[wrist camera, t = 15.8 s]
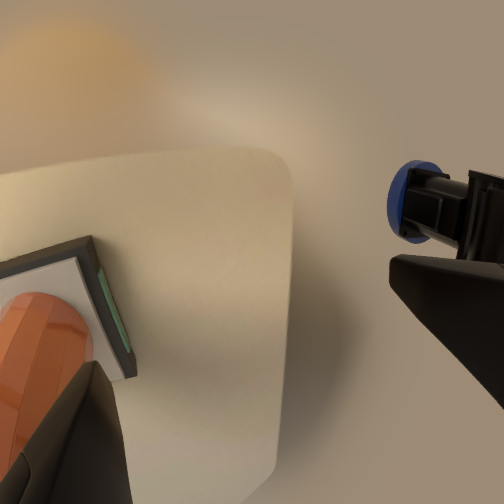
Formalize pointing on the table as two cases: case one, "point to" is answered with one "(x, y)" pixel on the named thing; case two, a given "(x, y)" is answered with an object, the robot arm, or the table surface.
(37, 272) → the scale
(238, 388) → the table surface
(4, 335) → the cup
